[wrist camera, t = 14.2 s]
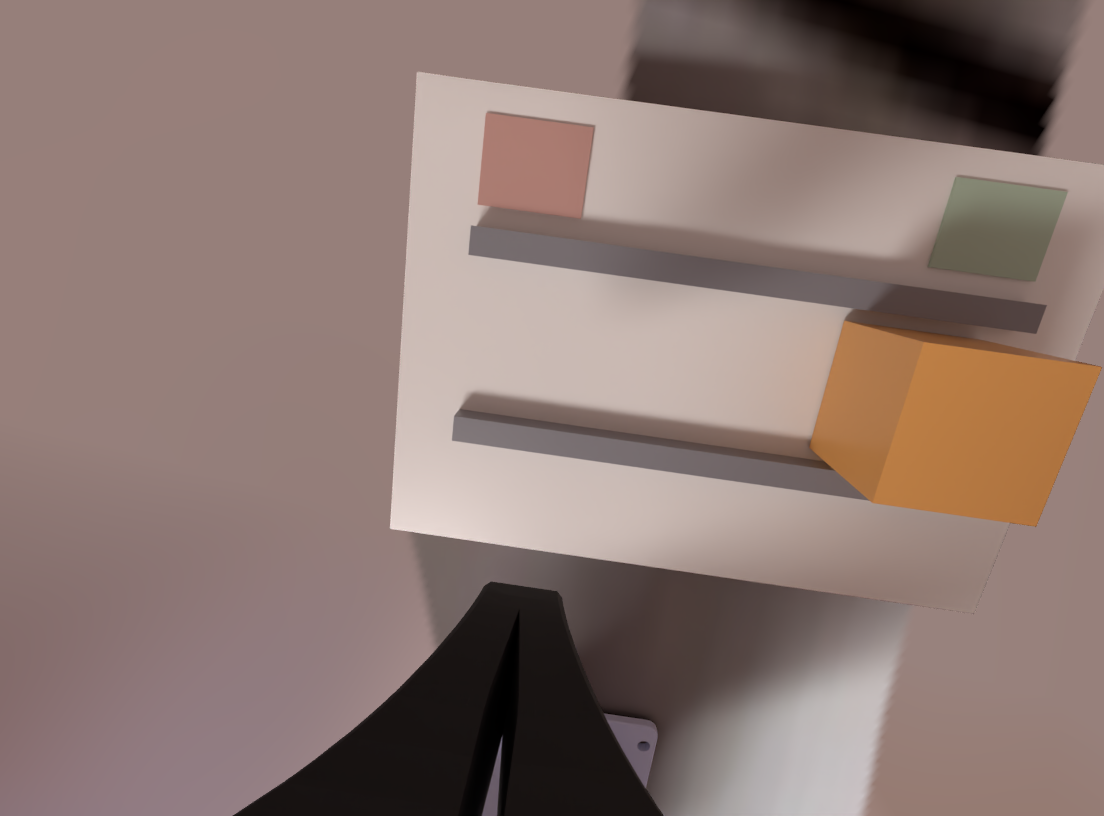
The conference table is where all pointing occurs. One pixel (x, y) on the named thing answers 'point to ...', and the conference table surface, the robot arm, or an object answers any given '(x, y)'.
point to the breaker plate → (702, 327)
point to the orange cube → (949, 421)
